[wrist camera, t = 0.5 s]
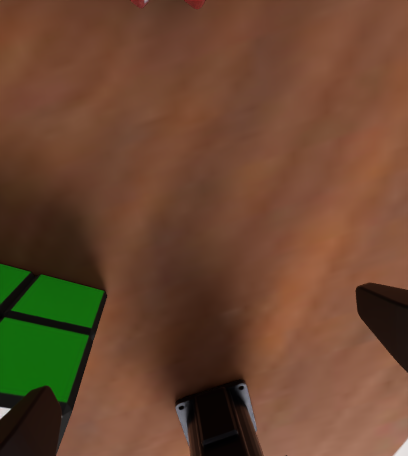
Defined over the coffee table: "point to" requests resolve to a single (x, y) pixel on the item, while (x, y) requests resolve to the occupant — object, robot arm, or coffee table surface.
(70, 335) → the puzzle cube
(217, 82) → the coffee table surface
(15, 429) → the robot arm
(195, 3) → the toy fire truck
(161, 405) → the coffee table surface
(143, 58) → the coffee table surface
